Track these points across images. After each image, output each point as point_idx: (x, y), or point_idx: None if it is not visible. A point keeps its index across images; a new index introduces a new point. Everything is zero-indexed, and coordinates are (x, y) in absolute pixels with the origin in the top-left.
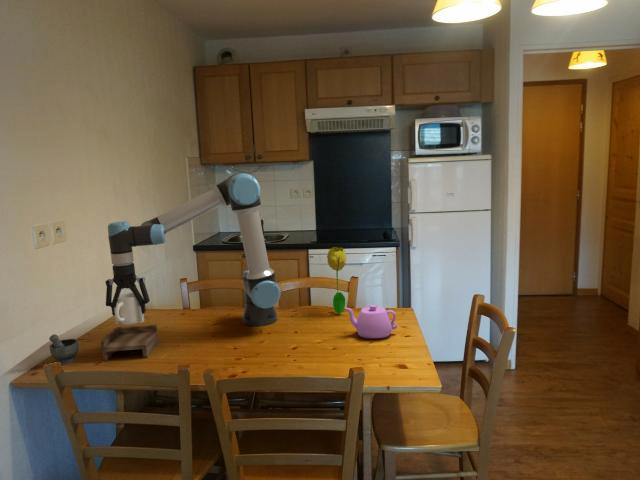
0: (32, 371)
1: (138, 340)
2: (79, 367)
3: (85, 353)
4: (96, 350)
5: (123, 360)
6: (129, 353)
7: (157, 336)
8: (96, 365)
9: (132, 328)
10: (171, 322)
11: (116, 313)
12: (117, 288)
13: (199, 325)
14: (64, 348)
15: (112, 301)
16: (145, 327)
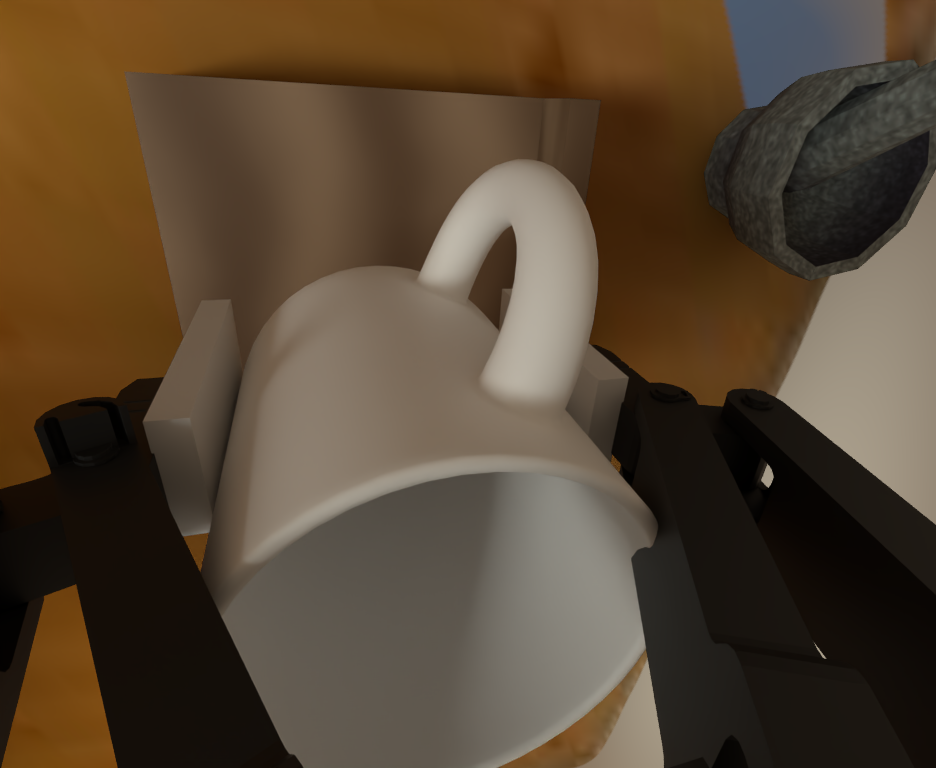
0: (913, 27)
1: (282, 232)
2: (663, 6)
3: (664, 276)
4: (612, 315)
5: (367, 68)
6: None
7: None
8: (553, 11)
9: None
10: None
11: (535, 165)
12: (845, 736)
13: (54, 661)
14: (850, 70)
15: (710, 443)
16: None
